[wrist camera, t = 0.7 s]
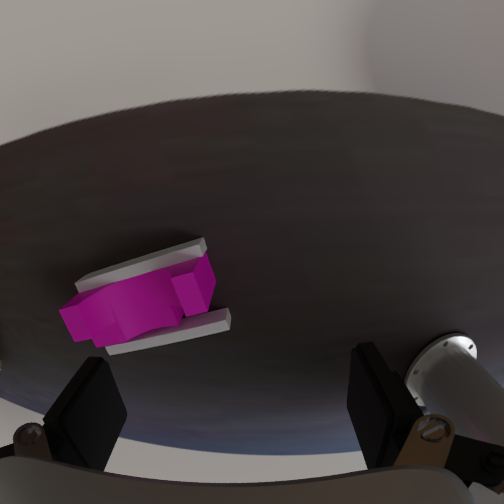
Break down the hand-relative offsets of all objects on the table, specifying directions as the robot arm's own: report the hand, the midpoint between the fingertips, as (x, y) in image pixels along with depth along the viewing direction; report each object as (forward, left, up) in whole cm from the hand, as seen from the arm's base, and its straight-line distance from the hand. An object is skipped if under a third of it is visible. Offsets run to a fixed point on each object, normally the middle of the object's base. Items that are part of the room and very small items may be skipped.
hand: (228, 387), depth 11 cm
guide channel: (-3, +11, -23) cm, 25 cm away
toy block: (-3, +12, -23) cm, 26 cm away
